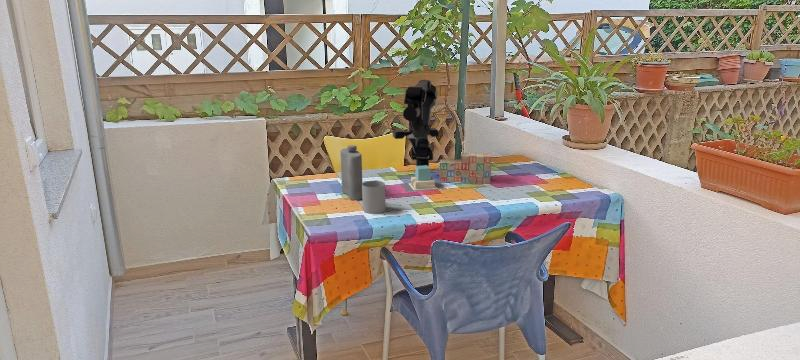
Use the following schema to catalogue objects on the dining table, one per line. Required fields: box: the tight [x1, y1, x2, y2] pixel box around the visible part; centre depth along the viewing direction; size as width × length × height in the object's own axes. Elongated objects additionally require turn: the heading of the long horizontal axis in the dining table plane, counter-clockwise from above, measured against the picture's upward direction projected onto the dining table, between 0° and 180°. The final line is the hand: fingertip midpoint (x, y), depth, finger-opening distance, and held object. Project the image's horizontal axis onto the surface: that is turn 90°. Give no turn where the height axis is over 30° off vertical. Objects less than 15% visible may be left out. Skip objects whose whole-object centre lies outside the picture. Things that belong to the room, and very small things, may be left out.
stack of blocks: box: [439, 152, 492, 185], centre depth 245 cm, size 21×6×12 cm, turn 86°
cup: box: [362, 180, 387, 215], centre depth 211 cm, size 8×8×10 cm
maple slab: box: [410, 176, 436, 189], centre depth 237 cm, size 8×8×3 cm
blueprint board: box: [400, 180, 446, 193], centre depth 238 cm, size 12×16×1 cm
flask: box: [339, 144, 363, 201], centre depth 228 cm, size 15×6×20 cm, turn 23°
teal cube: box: [414, 165, 431, 181], centre depth 236 cm, size 5×5×5 cm
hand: (415, 153), depth 246 cm, fingers closed
